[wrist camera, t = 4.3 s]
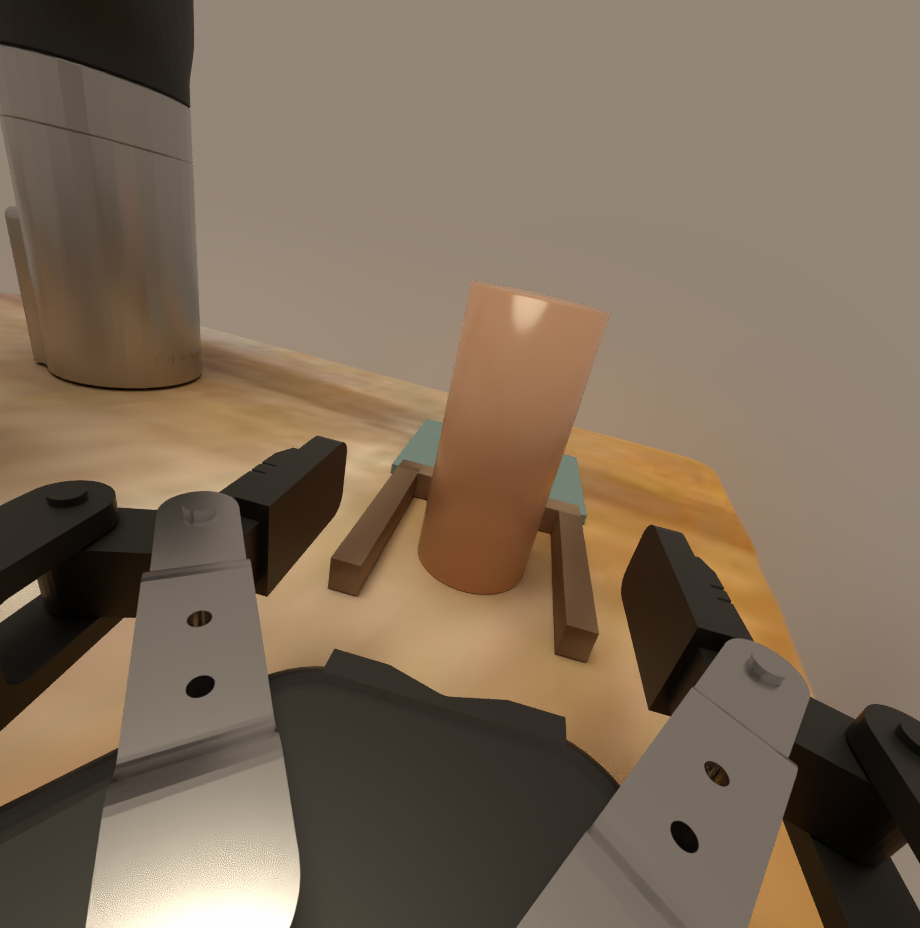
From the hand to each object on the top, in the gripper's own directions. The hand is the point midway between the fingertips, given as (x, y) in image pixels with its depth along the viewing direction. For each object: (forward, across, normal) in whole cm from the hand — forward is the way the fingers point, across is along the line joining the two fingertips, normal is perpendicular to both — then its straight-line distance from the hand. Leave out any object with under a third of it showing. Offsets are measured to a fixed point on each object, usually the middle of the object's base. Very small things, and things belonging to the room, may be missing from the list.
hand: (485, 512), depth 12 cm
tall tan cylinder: (+8, 0, +7) cm, 10 cm away
